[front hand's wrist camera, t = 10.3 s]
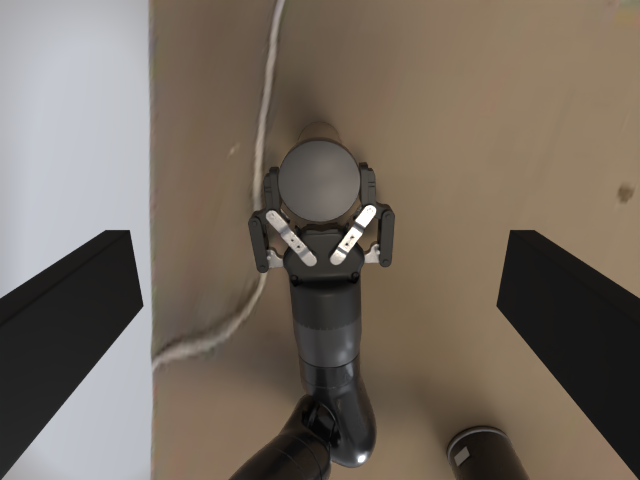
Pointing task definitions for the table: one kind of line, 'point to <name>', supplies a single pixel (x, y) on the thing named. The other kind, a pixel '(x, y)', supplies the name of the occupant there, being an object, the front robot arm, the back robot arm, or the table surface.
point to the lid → (319, 179)
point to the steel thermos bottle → (319, 132)
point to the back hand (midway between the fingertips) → (318, 165)
